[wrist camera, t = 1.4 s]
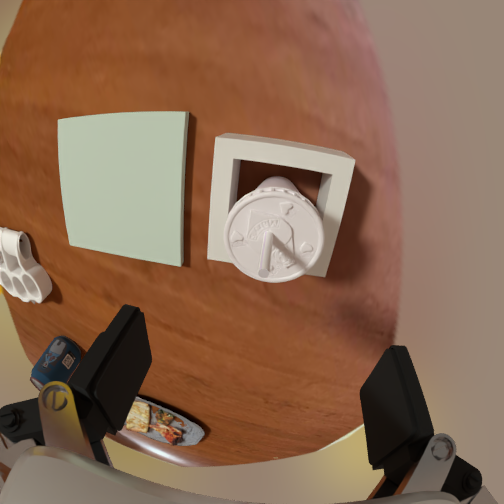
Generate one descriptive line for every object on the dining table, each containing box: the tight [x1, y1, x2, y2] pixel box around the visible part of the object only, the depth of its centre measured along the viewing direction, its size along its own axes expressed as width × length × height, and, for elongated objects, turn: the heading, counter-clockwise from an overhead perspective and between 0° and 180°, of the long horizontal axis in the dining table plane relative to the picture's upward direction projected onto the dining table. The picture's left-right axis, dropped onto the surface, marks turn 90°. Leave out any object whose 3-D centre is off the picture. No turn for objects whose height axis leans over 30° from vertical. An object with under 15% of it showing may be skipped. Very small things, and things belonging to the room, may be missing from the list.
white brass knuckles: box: [0, 227, 52, 304], centre depth 34 cm, size 3×18×15 cm
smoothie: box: [224, 176, 324, 283], centre depth 19 cm, size 6×6×14 cm
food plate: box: [124, 397, 205, 446], centre depth 52 cm, size 25×23×4 cm
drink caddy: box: [207, 133, 355, 277], centre depth 23 cm, size 10×10×4 cm
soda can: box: [30, 336, 81, 391], centre depth 38 cm, size 7×7×12 cm
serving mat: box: [58, 111, 189, 267], centre depth 26 cm, size 16×16×1 cm
